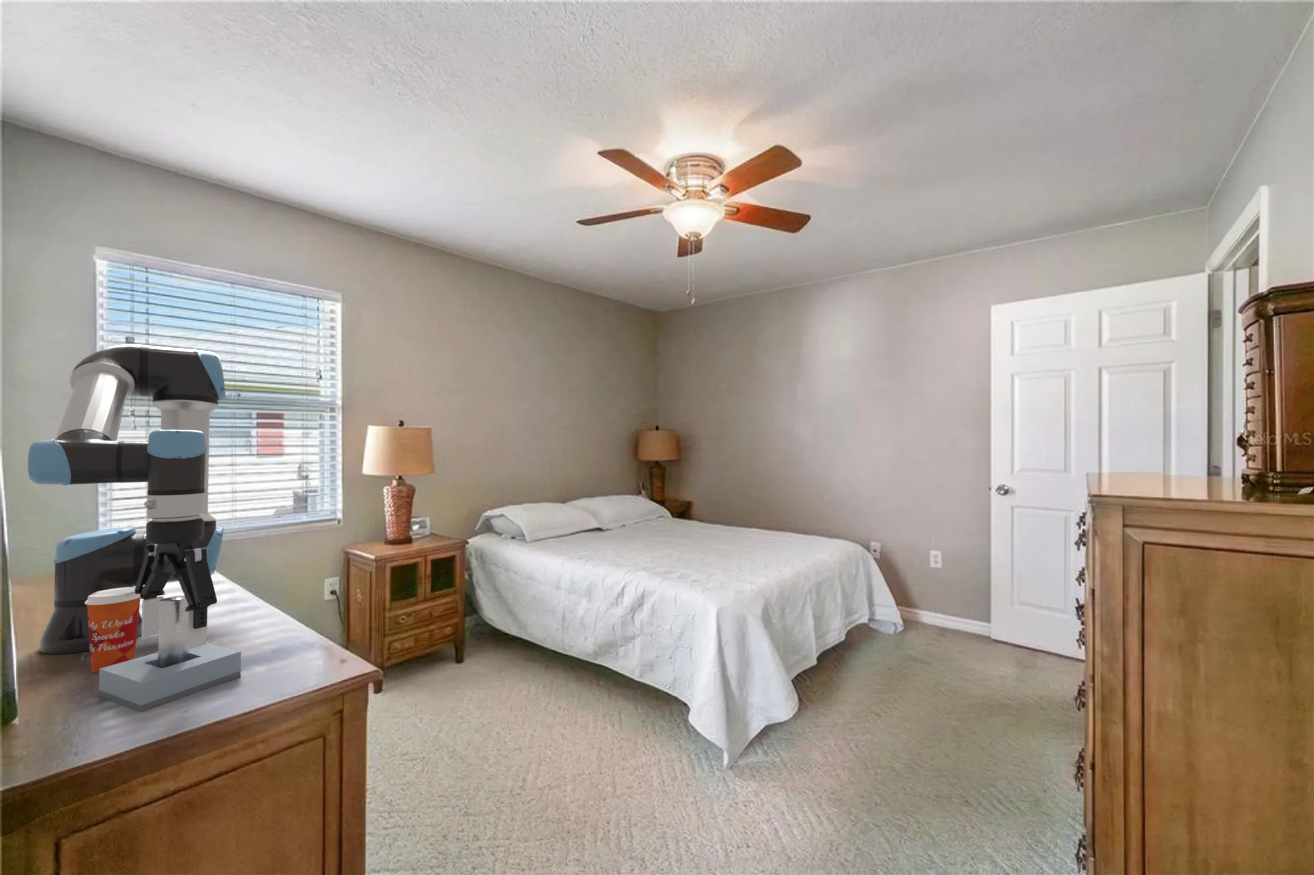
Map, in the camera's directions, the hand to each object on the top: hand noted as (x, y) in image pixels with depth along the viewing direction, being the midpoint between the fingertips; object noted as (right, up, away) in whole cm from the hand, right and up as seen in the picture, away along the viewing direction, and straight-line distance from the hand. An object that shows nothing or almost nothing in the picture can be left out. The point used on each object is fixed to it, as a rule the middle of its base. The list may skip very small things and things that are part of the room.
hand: (173, 640), depth 92 cm
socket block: (0, -8, 0) cm, 8 cm away
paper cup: (-18, -8, +8) cm, 22 cm away
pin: (0, -7, 0) cm, 7 cm away
